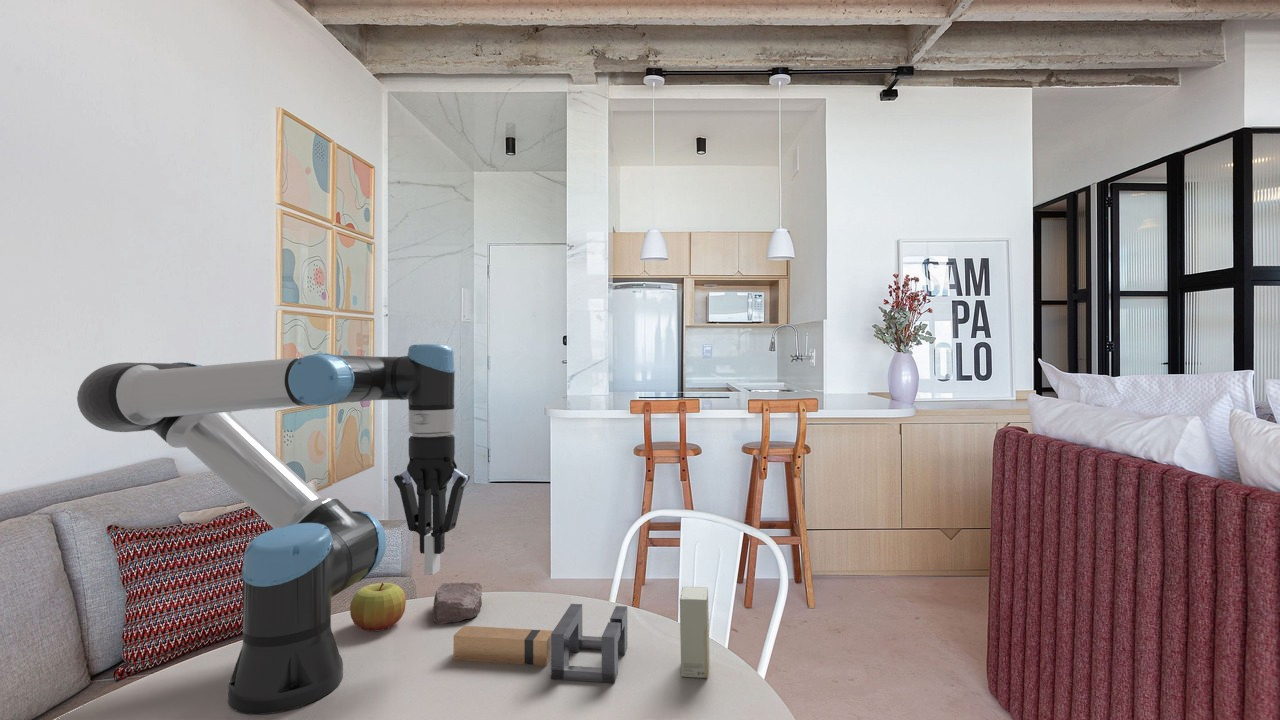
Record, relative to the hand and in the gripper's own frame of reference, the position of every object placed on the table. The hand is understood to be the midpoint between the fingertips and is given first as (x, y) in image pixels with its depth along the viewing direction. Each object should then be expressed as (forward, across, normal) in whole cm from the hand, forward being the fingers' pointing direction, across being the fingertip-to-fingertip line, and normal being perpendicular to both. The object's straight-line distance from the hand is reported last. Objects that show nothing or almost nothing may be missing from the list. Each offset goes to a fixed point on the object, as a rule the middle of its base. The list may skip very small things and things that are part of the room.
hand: (432, 572), depth 105 cm
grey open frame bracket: (+14, +28, 0) cm, 31 cm away
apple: (+14, -15, +9) cm, 22 cm away
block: (+14, +13, 0) cm, 19 cm away
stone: (+14, -3, +18) cm, 23 cm away
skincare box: (+14, +45, 0) cm, 47 cm away
